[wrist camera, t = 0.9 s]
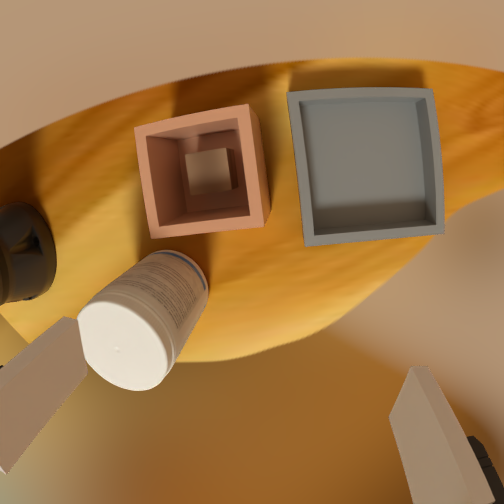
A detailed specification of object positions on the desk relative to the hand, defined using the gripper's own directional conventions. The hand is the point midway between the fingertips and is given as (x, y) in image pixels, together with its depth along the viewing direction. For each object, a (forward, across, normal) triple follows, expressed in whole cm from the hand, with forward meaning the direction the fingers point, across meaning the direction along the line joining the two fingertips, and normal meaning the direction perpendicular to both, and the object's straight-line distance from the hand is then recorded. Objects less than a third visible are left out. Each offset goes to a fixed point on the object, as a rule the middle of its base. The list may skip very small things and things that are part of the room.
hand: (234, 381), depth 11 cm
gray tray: (+25, +9, +9) cm, 28 cm away
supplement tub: (+26, -11, -8) cm, 29 cm away
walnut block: (+24, -6, +6) cm, 26 cm away
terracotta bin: (+25, -6, +6) cm, 27 cm away
